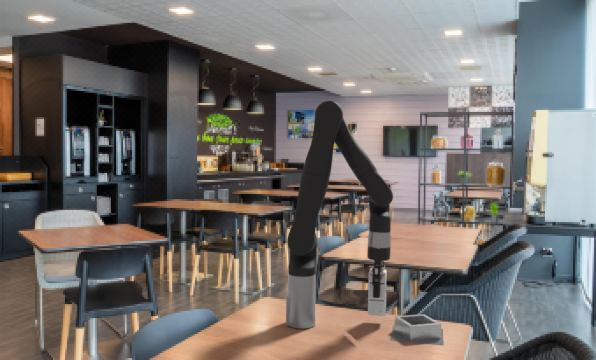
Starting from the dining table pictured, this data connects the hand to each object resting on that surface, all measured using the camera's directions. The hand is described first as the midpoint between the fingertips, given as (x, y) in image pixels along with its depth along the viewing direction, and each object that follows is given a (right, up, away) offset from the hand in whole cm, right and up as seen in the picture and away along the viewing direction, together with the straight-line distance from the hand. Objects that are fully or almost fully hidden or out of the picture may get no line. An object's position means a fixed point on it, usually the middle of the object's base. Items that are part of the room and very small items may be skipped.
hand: (377, 294), depth 175 cm
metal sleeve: (+11, -10, -11) cm, 18 cm away
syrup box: (0, -6, 0) cm, 6 cm away
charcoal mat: (+11, -11, -11) cm, 19 cm away
